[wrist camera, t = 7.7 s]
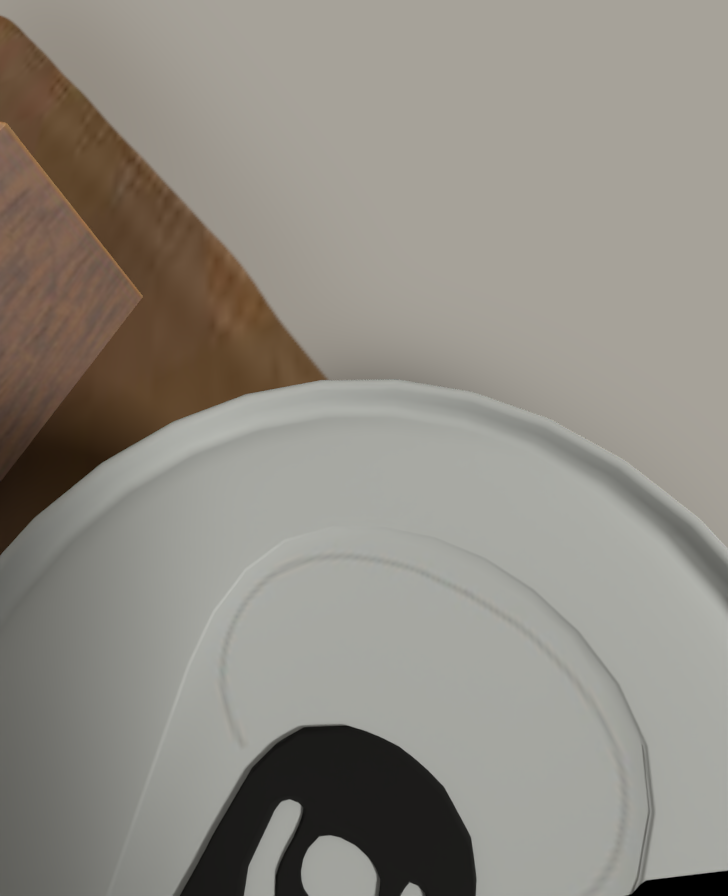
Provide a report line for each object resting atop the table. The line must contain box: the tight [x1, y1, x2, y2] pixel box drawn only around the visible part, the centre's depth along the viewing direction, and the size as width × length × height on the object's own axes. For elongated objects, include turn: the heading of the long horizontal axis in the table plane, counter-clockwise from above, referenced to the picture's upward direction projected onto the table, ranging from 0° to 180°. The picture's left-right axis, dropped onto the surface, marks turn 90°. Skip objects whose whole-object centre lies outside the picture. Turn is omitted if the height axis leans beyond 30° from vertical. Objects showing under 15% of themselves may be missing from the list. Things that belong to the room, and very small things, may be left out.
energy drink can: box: [0, 379, 728, 896], centre depth 9 cm, size 6×6×15 cm
